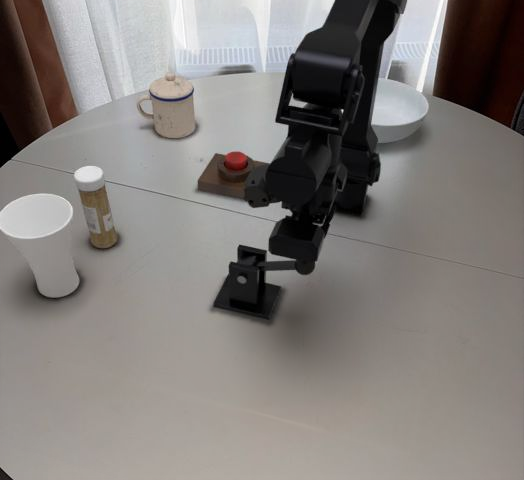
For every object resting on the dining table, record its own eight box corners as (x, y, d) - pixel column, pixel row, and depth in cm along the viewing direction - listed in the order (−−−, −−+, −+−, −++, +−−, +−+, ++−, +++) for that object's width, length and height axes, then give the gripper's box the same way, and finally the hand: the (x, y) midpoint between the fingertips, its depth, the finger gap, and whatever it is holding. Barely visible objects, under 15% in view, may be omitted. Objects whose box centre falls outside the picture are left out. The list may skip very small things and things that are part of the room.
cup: (20, 271, 95) (-8, 202, 84) (84, 255, 98) (65, 187, 87) (30, 314, 89) (2, 245, 78) (98, 296, 92) (80, 227, 81)
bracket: (281, 291, 93) (283, 249, 86) (268, 321, 89) (270, 279, 82) (228, 279, 95) (226, 236, 88) (213, 308, 90) (211, 266, 84)
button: (249, 161, 111) (249, 153, 109) (242, 173, 108) (242, 164, 107) (229, 158, 111) (229, 149, 110) (222, 169, 109) (222, 160, 107)
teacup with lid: (196, 117, 128) (192, 63, 119) (196, 139, 122) (192, 84, 113) (141, 118, 127) (133, 64, 118) (139, 140, 121) (130, 85, 112)
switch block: (273, 173, 115) (273, 155, 111) (258, 202, 108) (258, 184, 105) (215, 162, 117) (215, 144, 113) (198, 190, 110) (196, 172, 107)
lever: (319, 265, 84) (315, 249, 82) (314, 279, 82) (310, 262, 80) (245, 268, 89) (239, 253, 87) (239, 281, 87) (233, 265, 85)
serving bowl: (429, 157, 119) (437, 126, 114) (327, 154, 119) (331, 123, 114) (413, 107, 133) (420, 77, 128) (322, 104, 133) (325, 74, 127)
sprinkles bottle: (122, 243, 100) (107, 175, 90) (97, 252, 98) (80, 184, 88) (111, 229, 102) (96, 161, 92) (86, 237, 101) (68, 170, 90)
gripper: (272, 109, 77) (269, 207, 89) (226, 188, 65) (229, 288, 77) (355, 123, 75) (340, 221, 87) (322, 207, 63) (310, 306, 75)
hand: (305, 256), depth 82 cm, fingers closed
